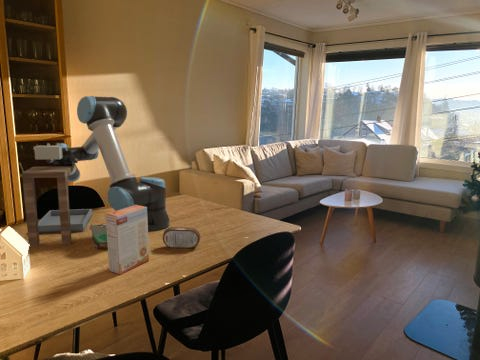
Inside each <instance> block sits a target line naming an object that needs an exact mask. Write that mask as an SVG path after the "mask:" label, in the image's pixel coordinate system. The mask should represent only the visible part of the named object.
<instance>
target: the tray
mask: <svg viewBox="0 0 480 360" xmlns="http://www.w3.org/2000/svg"><path fill="white" fill-rule="evenodd" d="M69 210H70V224H71V233H75V232H76V233H77V232H79V233H80V232H85V229H86V227H88V224H89V222H90V221H91V218H92V217H93V209H92V208H86V209H85V208H81V209H80V208H79V209H69ZM38 229H39V234H53V233H55V234H58V233H61V224H60V211H59V209H56V210H54V209H52V210H51V209H50V210H49V211H48V212H46V214H45V215H44V216H43V217H42V218H41V219H39V221H38Z"/></svg>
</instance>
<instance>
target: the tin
mask: <svg viewBox="0 0 480 360" xmlns="http://www.w3.org/2000/svg"><path fill="white" fill-rule="evenodd" d="M200 240H201V234H200V232H199V231H198V230H197V229H196V228H194V227H183V226H170V227H167V228H165V230H164V232H163V235H162V241H163V243H164V245H165V246H166V247H168V248H171V249H193V248H196V247H197V246H198V245H199V244H200V243H199V242H200Z"/></svg>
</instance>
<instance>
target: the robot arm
mask: <svg viewBox="0 0 480 360" xmlns="http://www.w3.org/2000/svg"><path fill="white" fill-rule="evenodd" d="M76 115H77V119H78V120H79V122H80V123H81V124H86V127H87V129H88V130H89V131H91V132H92V133H91V134H90V135H89V137H88V138H86V140H85V142H84V143H83V144H82V145H81V146H73V147H69V146H68V144H66V143H63V142H61V143H60V142H57V143H56V144H55V145H54V146H62V155H63V158H61V159H46V163H47V164H50V163H53V164H54V165H55V166H73V171H72V172H71V173H70V174H68V175H67V182H71V183H73V182H77V181H79V179H80V178H81V172H80V169H79V168H78V166H77V164H78V163H79V162H82V161H84V162H85V161H92V160H96V159H97V158H98V157H99V151H100V153H101V156H102V159H103V162H104V164H105V167H106V170H107V172H108V173H107V174H108V175H109V178H110V183H109V189H108V191H107V201H108V203H109V205H110V207H111V208H112V209H113V210H114V211H118V210H121V209H124V208H127V207H131V206H134V205H140V206H144V207H147V221H148V231H159V230H164V229H168V228H169V226H170V224H171V223H170V221H171V220H170V217H169V215H168V213H167V209H166V208H167V206H166V204H167V203H166V202H167V201H166V191H167V190H166V188H167V187H166V182H165V179H163V178H160V177H151V176H150V177H149V176H145V177H144V176H142V177H140V178H139V179H138V180H137V178H136V177H137V176H135V175H132V174H131V172H130V169H129V167H128V163H127V161H126V158H125V155H124V153H123V151H122V148H121V145H120V143H119V139H118V137H117V134H116V132H115V130H116V129H118V128H121V126H122V125H123V124H124V123H125V121H126V120H127V116H128V109H127V107H126V104H125V103H124V102H123V101H122V100H121V99H119V98H117V97H115V96H94V95H89V96H88V95H87V96H83V97H82V98H80V99H79V101H78V103H77V108H76ZM46 146H52V145H51V143H48V142H47V144H46ZM138 181H139V182H138Z"/></svg>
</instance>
